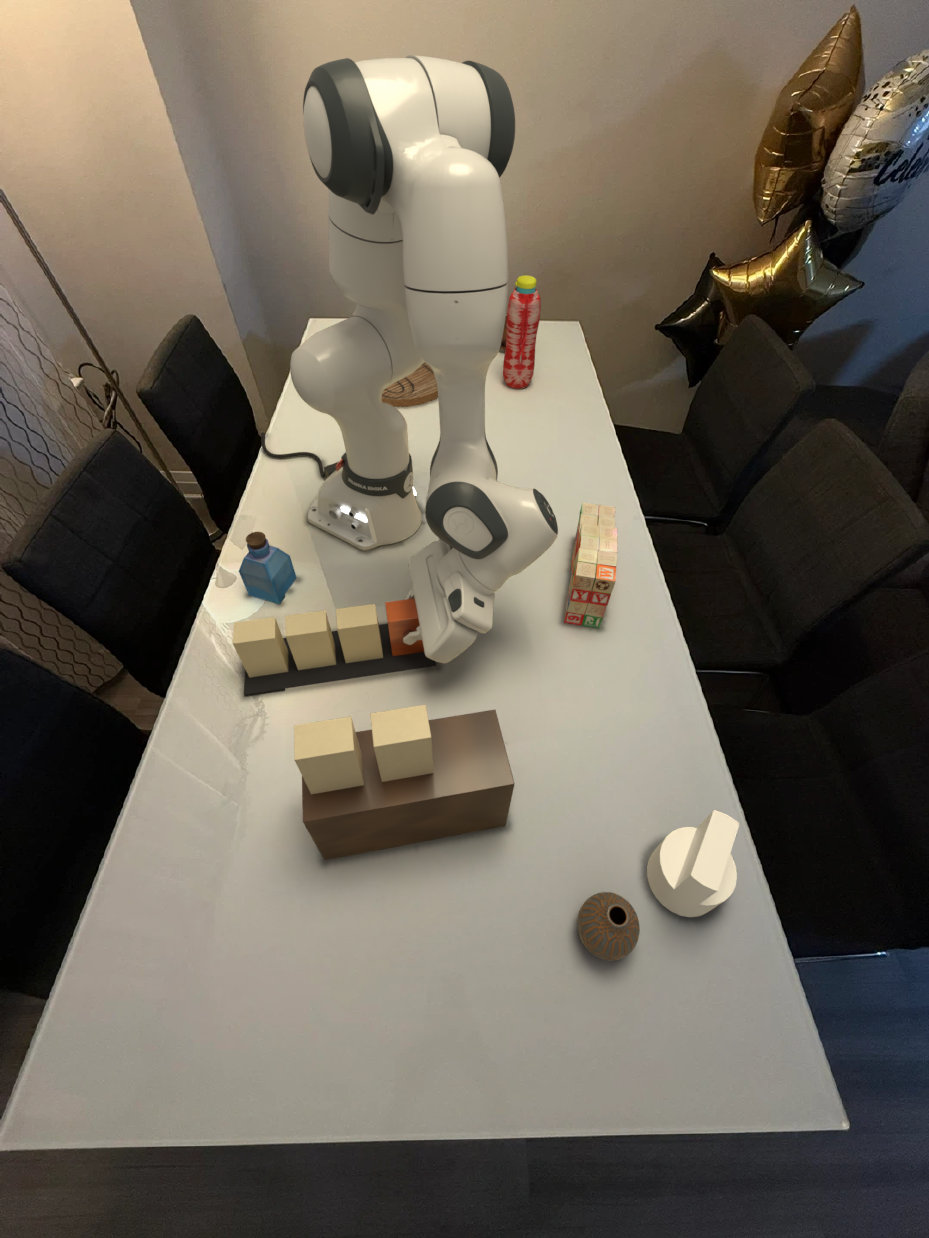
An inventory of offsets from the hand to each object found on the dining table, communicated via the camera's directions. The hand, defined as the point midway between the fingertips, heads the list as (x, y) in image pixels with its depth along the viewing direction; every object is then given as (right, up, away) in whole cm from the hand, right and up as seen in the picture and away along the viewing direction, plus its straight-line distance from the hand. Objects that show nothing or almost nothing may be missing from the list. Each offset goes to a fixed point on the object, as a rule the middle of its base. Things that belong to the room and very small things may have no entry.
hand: (403, 627), depth 92 cm
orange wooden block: (+1, -3, +4) cm, 5 cm away
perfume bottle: (-25, +7, +12) cm, 28 cm away
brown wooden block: (+2, -24, -13) cm, 27 cm away
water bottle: (+23, +63, +58) cm, 88 cm away
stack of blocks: (+32, +8, +14) cm, 36 cm away
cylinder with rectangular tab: (+37, -32, -18) cm, 52 cm away
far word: (-10, -5, +3) cm, 12 cm away
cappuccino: (+56, +94, +83) cm, 137 cm away
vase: (+26, -37, -22) cm, 50 cm away
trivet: (-6, +62, +57) cm, 85 cm away
